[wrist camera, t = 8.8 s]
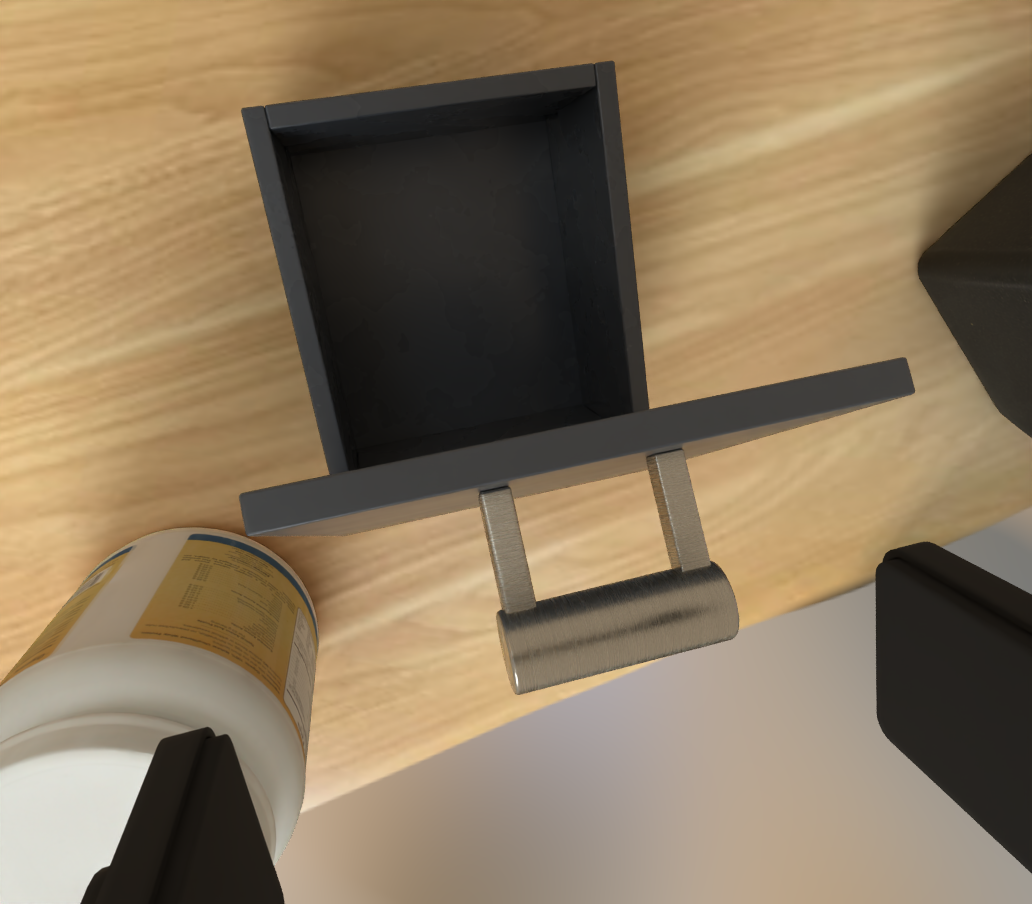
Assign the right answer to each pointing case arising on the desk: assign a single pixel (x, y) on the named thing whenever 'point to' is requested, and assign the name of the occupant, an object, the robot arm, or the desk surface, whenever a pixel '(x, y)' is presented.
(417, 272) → the chest
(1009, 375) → the flower pot
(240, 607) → the supplement tub
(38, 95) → the desk surface
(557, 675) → the lid
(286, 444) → the desk surface
